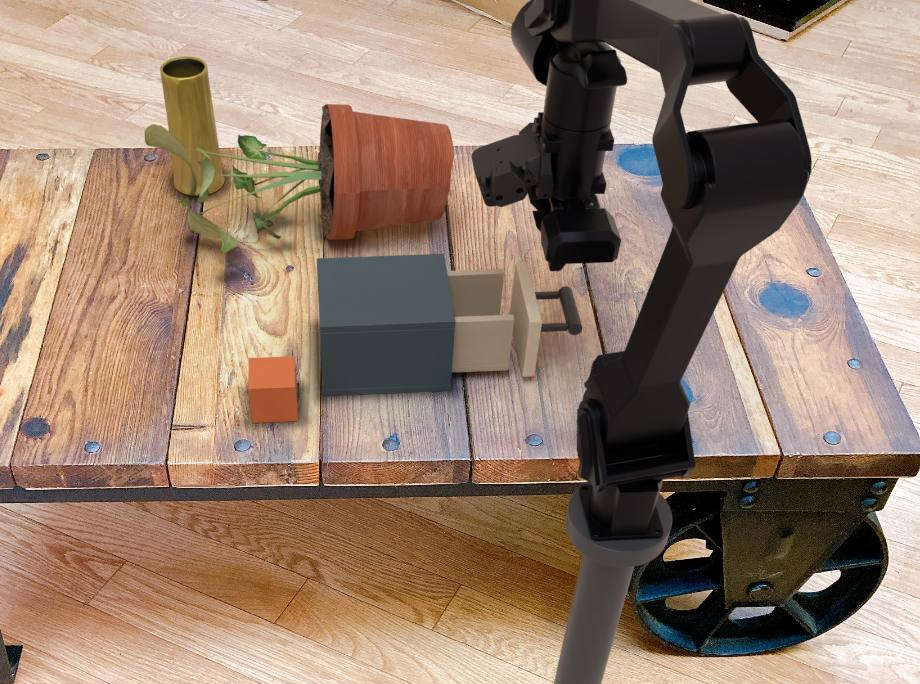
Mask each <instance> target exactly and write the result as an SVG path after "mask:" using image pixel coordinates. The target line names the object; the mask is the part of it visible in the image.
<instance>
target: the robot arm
mask: <svg viewBox="0 0 920 684" xmlns="http://www.w3.org/2000/svg"><path fill="white" fill-rule="evenodd" d="M752 29H753V28H752V27H751V24H750V23H749V21H748V20H747V19H746V18H745V17H744V16H737V15H735V13H722V12H720V11H716V10H715V9H712V8H709V7H707V6H704V5H703V4H699V3H697V2H694V1H692V0H529V1H528V2H526V3H525V4H524V5H523V6H521V8H520V9H519V11H518V13H517V14H516V16H515V18H514V20H513V22H512V23H511V27H510V38H511V42H512V45H513V46H514V48H515V49H516V51H517V53H518V54H519V55H520V57H521V59H522V60H523V61H524V63H525V65H526V66H527V68H528V69H529V71H530V72H531V74H532V75H533V77H534V78H535V80H536V81H537V82H538V83H540V84H541V85H543V86H546V88H545V96H544V105H543V111H539V112H538V113H537V117H536V116H535V117H534V118H533V122H529V123H527V124H526V125H525V126H524V127H523V128H521V130H519V131H518V134H513V135H511V136H508V137H505V138H502V139H499V140H496V141H494V142H490V143H488V144H485V145H482V146H479V147H477V148H476V149H475V150H473V152H472V153H471V156H470V157H471V161H472V167H473V172H474V176H475V178H476V182H477V185H478V188H479V191H480V195H481V196H482V200H483V204H484V205H485V206H486V207H491V208H492V207H499V208H503V207H506V206H510V205H513V204H516V203H518V202H521V201H523V200H525V199H526V197H527V196H528V200H529V204H530V205H531V206H532V207H533V208H534V209H535V210H532V211H531V212H532V216H533V219H534V223H535V228H536V229H537V230H538V231H539V232H540V244H541V248H542V252H543V256H544V260H545V261H546V262H547V266H548V270H549V271H550V272H561V271H562V270H563V269H564V267H565V266H566V265H575V264H578V265H579V264H604V263H605V264H606V263H614V262H615V261H616V260H617V259H619V253H620V248H621V245H622V244H621V243H622V238H621V235H620V232H619V229H618V226H617V222H616V220H615V217H614V216H613V215H612V214H611V213H610V212H609V211H608V210H607V209H606V208H605V207H602V206H601V203H600V201H599V197H598V195H605V194H606V191H607V185H608V184H607V181H606V178H605V175H604V171H603V169H604V163H605V159H606V158H605V157H606V153H607V152H613V151H614V145H615V144H614V143H615V138H614V135H613V132H612V130H611V123H612V117H613V110H614V105H615V99H616V94H617V88H618V87H622V86H626V85H627V84H628V76H627V71H626V68H625V67H624V66H623V64H622V60H621V58H620V57H619V56H618V53H617V50H618V51H620V52H622V54H626V56H628V57H630V58H632V59H634V60H636V61H637V62H640V63H641V64H643V65H645V66H647V67H649V68H650V69H652V70H654V71H656V72H657V73H659V75H660V80H661V84H662V87H663V91H664V98H663V101H662V105H661V108H660V111H659V114H658V117H657V119H656V120H657V121H656V124H655V127H654V130H653V134H652V140H651V141H652V147H653V151H654V154H655V158H656V163H657V167H658V170H659V175H660V178H661V182H662V186H661V191H660V197H661V200H662V203H663V204H664V207H665V210H666V212H667V215H668V217H669V220H670V223H671V225H672V226H671V231H670V233H669V235H668V239H667V241H666V244H665V246H664V249H663V251H662V254H661V257H660V259H659V261H658V265H657V267H656V270H655V271H654V274H653V277H652V279H651V282H650V285H649V287H648V290H647V293H646V295H645V298H644V300H643V302H642V304H641V307H640V310H639V313H638V315H637V317H636V320H635V323H634V325H633V328H632V331H631V332H630V333H631V334H630V336H629V339H628V341H627V343H626V347H625V350H621V351H614V352H610V353H603V354H598V355H597V356H596V358H595V359H594V360H593V361H592V363H591V369H590V372H589V376H588V378H587V380H586V381H584V383H583V386H584V388H585V391H584V393H583V395H582V401H580V402H579V404H578V408H577V410H576V454H577V458H578V460H579V464H578V470H577V475H578V476H579V479H582V480H584V481H585V482H587V481H588V482H591V484H588V485H582V484H580V485H579V486H580V489H579V493H580V498H581V502H582V506H583V510H584V514H585V518H586V522H587V526H588V530H589V534H590V538H591V539H592V540H593V541H616V540H637V539H658V538H661V537H662V536H663V533H664V531H663V527H662V524H661V521H660V517H659V514H658V511H657V507H656V503H657V500H658V496H659V493H660V492H661V490H662V486H663V482H664V480H665V479H671V478H677V477H682V478H683V477H688V476H689V475H690V474H691V473H692V472H693V470H694V469H695V468H696V459H695V458H696V457H695V451H694V447H693V446H694V445H693V439H692V432H691V425H690V417H689V411H690V407H691V401H690V400H689V398H688V395H687V393H686V391H685V389H684V386H683V385H682V384H683V383H682V380H683V378H684V375H685V373H686V371H687V369H688V367H689V365H690V363H691V361H692V358H693V356H694V354H695V352H696V350H697V348H698V346H699V344H700V341H701V340H702V338H703V336H704V333H705V332H706V329H707V328H708V325H709V323H710V321H711V319H712V317H713V314H714V312H715V311H716V309H717V306H718V305H719V302H720V300H721V298H722V296H723V294H724V292H725V290H726V288H727V285H728V283H729V281H730V279H731V277H732V275H733V273H734V271H735V269H736V267H737V265H738V262H739V261H740V259H741V258H742V256H743V255H745V254H747V253H748V252H750V251H751V250H752V249H753V248H755V247H756V246H758V245H759V244H761V243H762V242H764V241H765V240H766V239H768V238H769V237H771V236H772V235H774V234H775V233H777V232H778V231H779V230H780V229H781V228H782V226H783V225H784V224H785V222H786V221H787V220H788V218H789V217H790V215H791V214H792V213H793V211H794V210H795V209H796V207H797V206H798V204H799V203H800V201H801V200H802V198H803V196H804V195H805V193H806V189H807V187H808V183H809V181H810V177H811V174H812V164H813V161H812V159H813V158H812V153H811V147H810V144H809V141H808V137H807V133H806V130H805V126H804V123H803V119H802V116H801V112H800V108H799V104H798V101H797V97H796V95H795V93H794V92H793V91H792V89H791V88H790V87H789V86H788V85H787V84H786V83H785V82H784V81H783V79H782V78H781V77H780V76H779V75H778V74H777V73H776V72H775V71H774V70H773V69H772V68H771V66H770V65H768V63H767V62H766V61H765V60H764V58H762V57H761V56H760V54H759V51H758V48H757V44H756V41H755V37H754V32H753V30H752ZM724 82H725V85H726V87H727V89H728V91H729V92H730V93H731V95H732V96H733V97H734V98H735V99H736V100H737V101H738V102H739V103H740V104H741V105H742V106H743V108H745V110H746V111H747V112H748V113H749V114H750V115H751V116H752V117H753V118H754V120H755V121H756V122H750V123H742V124H735V125H734V124H733V125H726V126H719V127H711V128H704V129H695V130H690V131H687V132H686V128H685V124H684V120H683V116H682V106H683V105H684V100H685V97H686V94H687V91H688V87H689V86H691V87H692V86H699V85H707V84H715V83H724ZM584 490H587V491H584ZM660 494H661V493H660ZM656 532H659V533H656ZM594 535H597V536H594Z"/></svg>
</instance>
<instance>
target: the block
mask: <svg viewBox="0 0 920 684" xmlns="http://www.w3.org/2000/svg"><path fill="white" fill-rule="evenodd" d="M247 373H248V375H247V377H248V379H247V380H248V381H247V382H248V383H247V392H248V400H249V409H250V417H251V423H252V424H259V423H283V422H287V423H288V422H298V421H299V405H298V398H299V397H298V396H299V395H298V380H297V366H296V356H295V355H292V356H289V355H288V356H266V357H249V358H248V372H247Z"/></svg>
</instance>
